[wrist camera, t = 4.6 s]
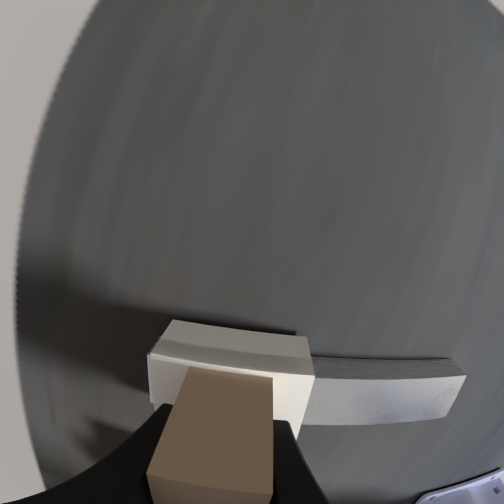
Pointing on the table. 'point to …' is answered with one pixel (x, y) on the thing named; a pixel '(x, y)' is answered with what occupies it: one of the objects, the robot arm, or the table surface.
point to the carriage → (224, 411)
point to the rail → (376, 390)
